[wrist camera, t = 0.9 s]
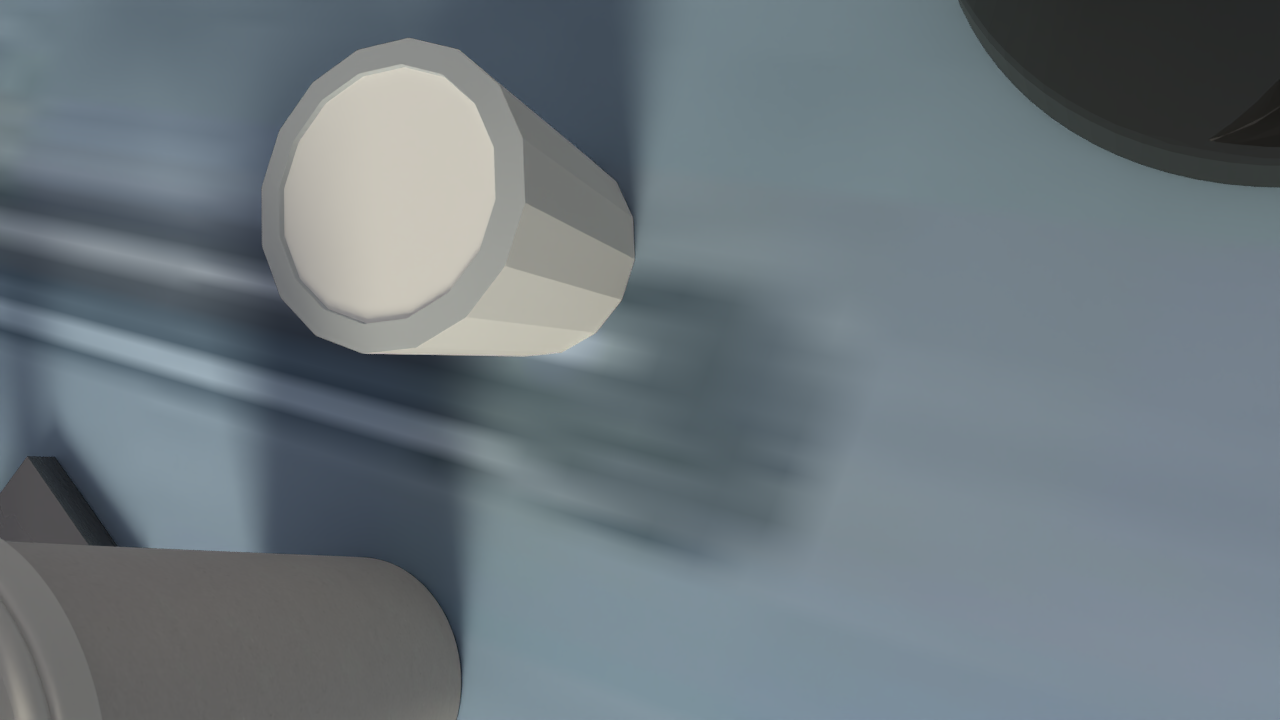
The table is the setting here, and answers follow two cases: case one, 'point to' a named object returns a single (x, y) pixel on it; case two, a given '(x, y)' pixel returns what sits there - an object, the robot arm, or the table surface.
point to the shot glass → (438, 213)
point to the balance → (47, 508)
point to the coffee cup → (218, 637)
